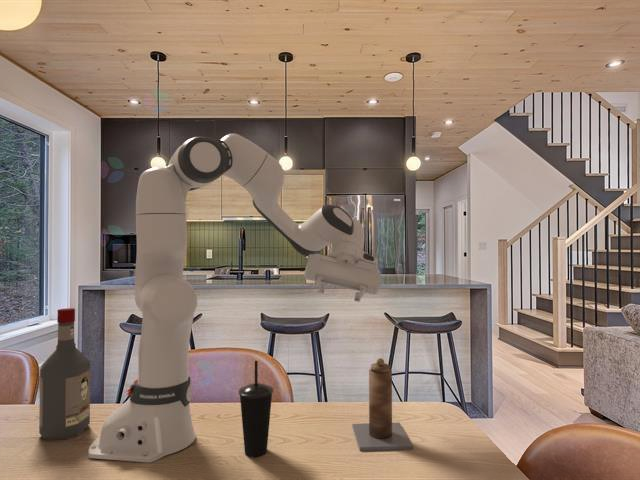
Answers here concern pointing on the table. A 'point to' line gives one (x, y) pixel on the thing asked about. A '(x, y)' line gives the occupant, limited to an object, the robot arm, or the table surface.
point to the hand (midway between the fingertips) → (339, 295)
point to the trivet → (369, 443)
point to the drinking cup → (255, 416)
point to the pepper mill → (380, 400)
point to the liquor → (64, 385)
